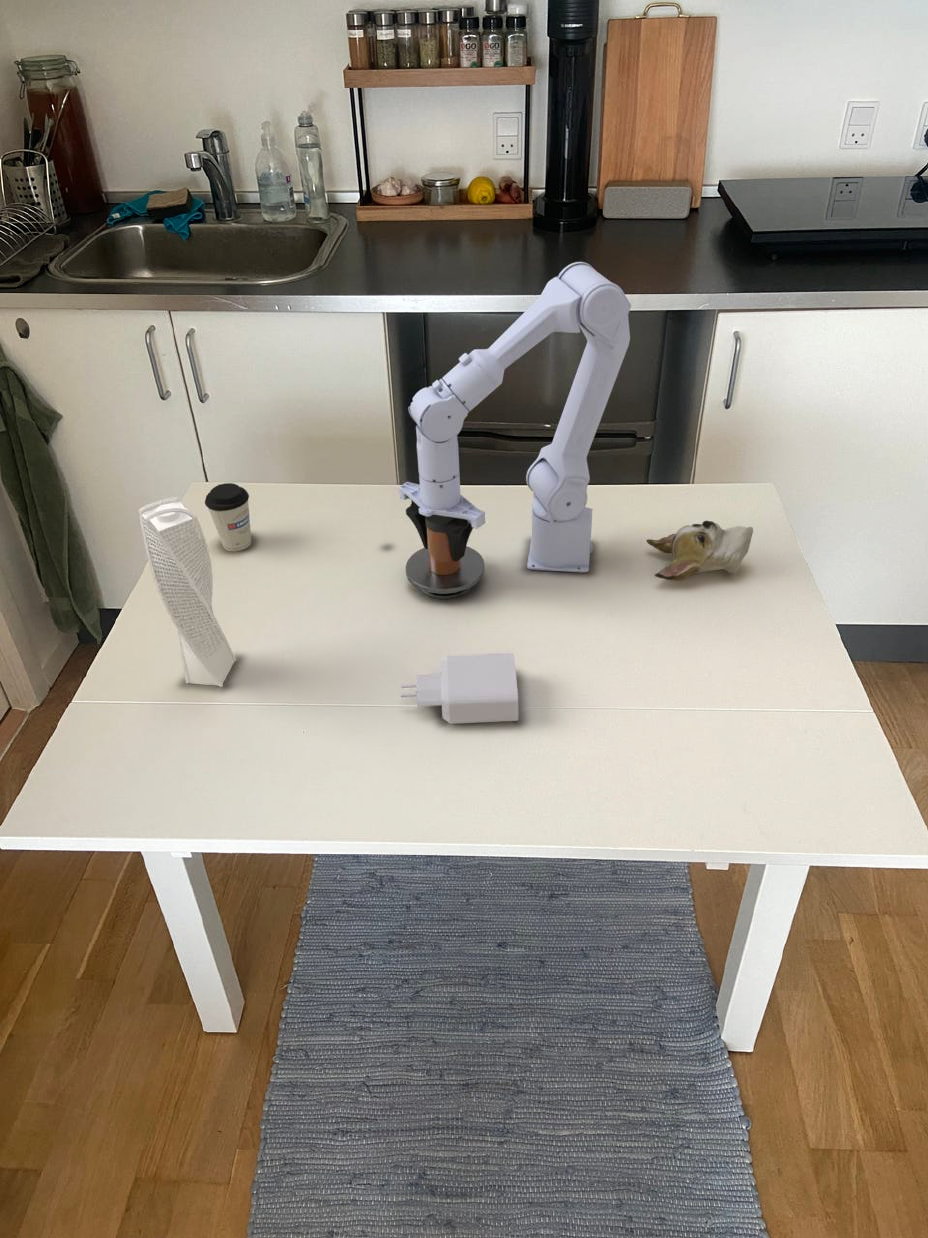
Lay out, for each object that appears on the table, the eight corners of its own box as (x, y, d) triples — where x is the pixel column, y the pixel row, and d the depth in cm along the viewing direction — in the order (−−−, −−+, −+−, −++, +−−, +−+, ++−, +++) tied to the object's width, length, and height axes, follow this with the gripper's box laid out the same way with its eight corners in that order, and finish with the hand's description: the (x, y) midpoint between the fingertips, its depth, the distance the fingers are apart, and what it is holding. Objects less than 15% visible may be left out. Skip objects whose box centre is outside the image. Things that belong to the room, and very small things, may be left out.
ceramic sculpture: (762, 538, 134) (656, 545, 135) (756, 587, 139) (654, 593, 140) (746, 499, 142) (646, 506, 143) (741, 546, 147) (645, 553, 148)
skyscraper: (226, 695, 125) (178, 518, 108) (174, 690, 127) (118, 515, 109) (246, 656, 132) (203, 483, 114) (196, 652, 133) (146, 480, 115)
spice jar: (463, 557, 143) (461, 507, 137) (458, 576, 139) (455, 525, 134) (431, 555, 144) (428, 505, 138) (426, 574, 140) (422, 523, 134)
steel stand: (489, 560, 147) (489, 545, 145) (479, 608, 138) (479, 591, 136) (415, 556, 149) (413, 541, 147) (400, 603, 140) (398, 587, 138)
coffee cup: (207, 545, 154) (193, 493, 147) (240, 526, 158) (229, 475, 151) (233, 560, 150) (220, 507, 144) (267, 541, 154) (256, 488, 148)
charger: (403, 680, 126) (514, 675, 126) (401, 729, 119) (518, 724, 119) (400, 654, 124) (514, 649, 123) (398, 703, 116) (518, 697, 116)
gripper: (381, 469, 133) (390, 548, 141) (461, 500, 125) (465, 581, 134) (414, 449, 137) (420, 527, 145) (493, 478, 130) (495, 558, 138)
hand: (444, 551), depth 140 cm, fingers closed on spice jar, 5 cm apart
